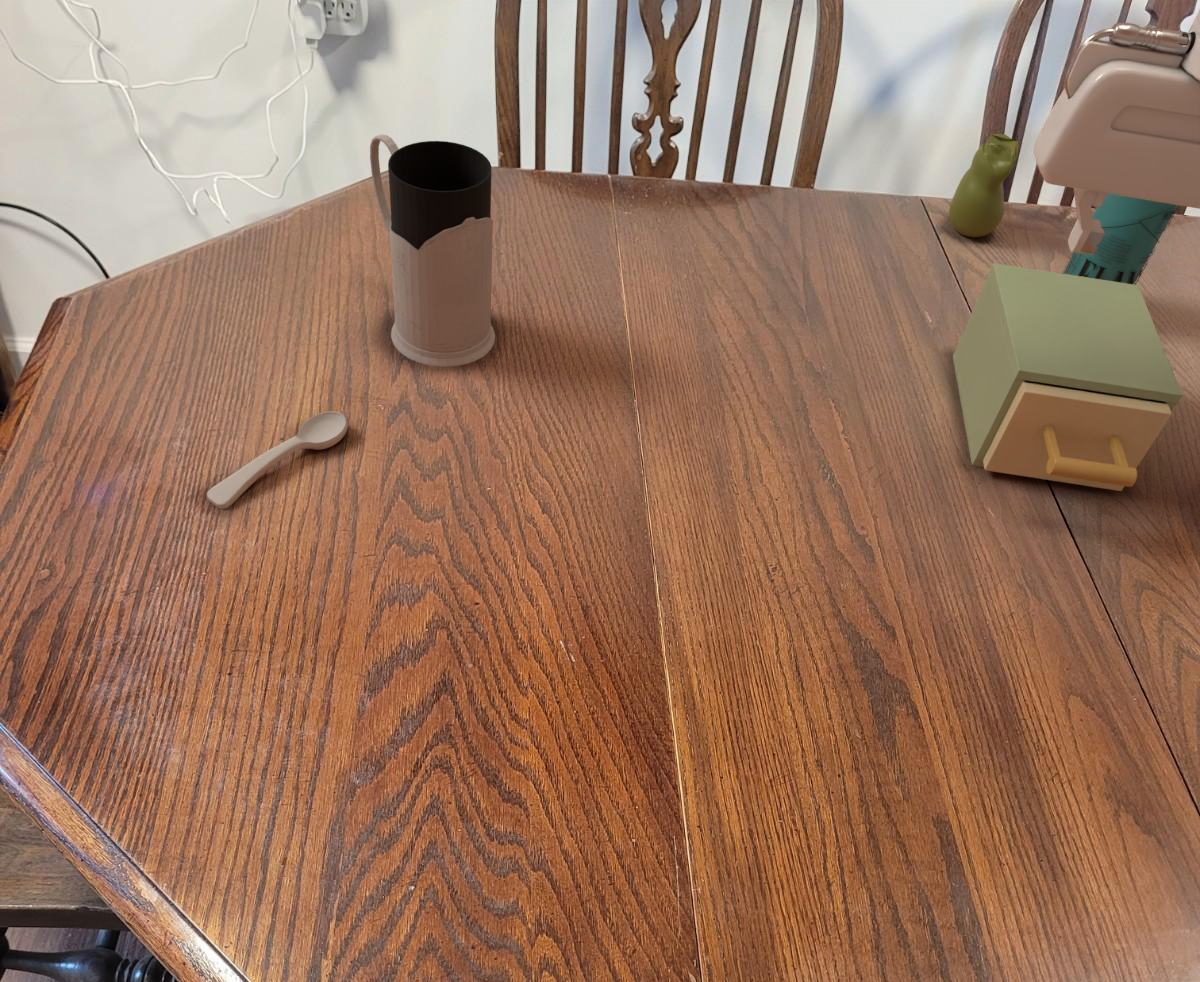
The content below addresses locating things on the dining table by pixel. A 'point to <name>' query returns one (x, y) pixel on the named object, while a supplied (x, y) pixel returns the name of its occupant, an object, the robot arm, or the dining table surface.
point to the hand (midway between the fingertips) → (1148, 260)
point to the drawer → (1075, 435)
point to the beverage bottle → (1123, 239)
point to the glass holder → (438, 249)
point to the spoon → (280, 455)
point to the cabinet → (1055, 345)
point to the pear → (983, 188)
